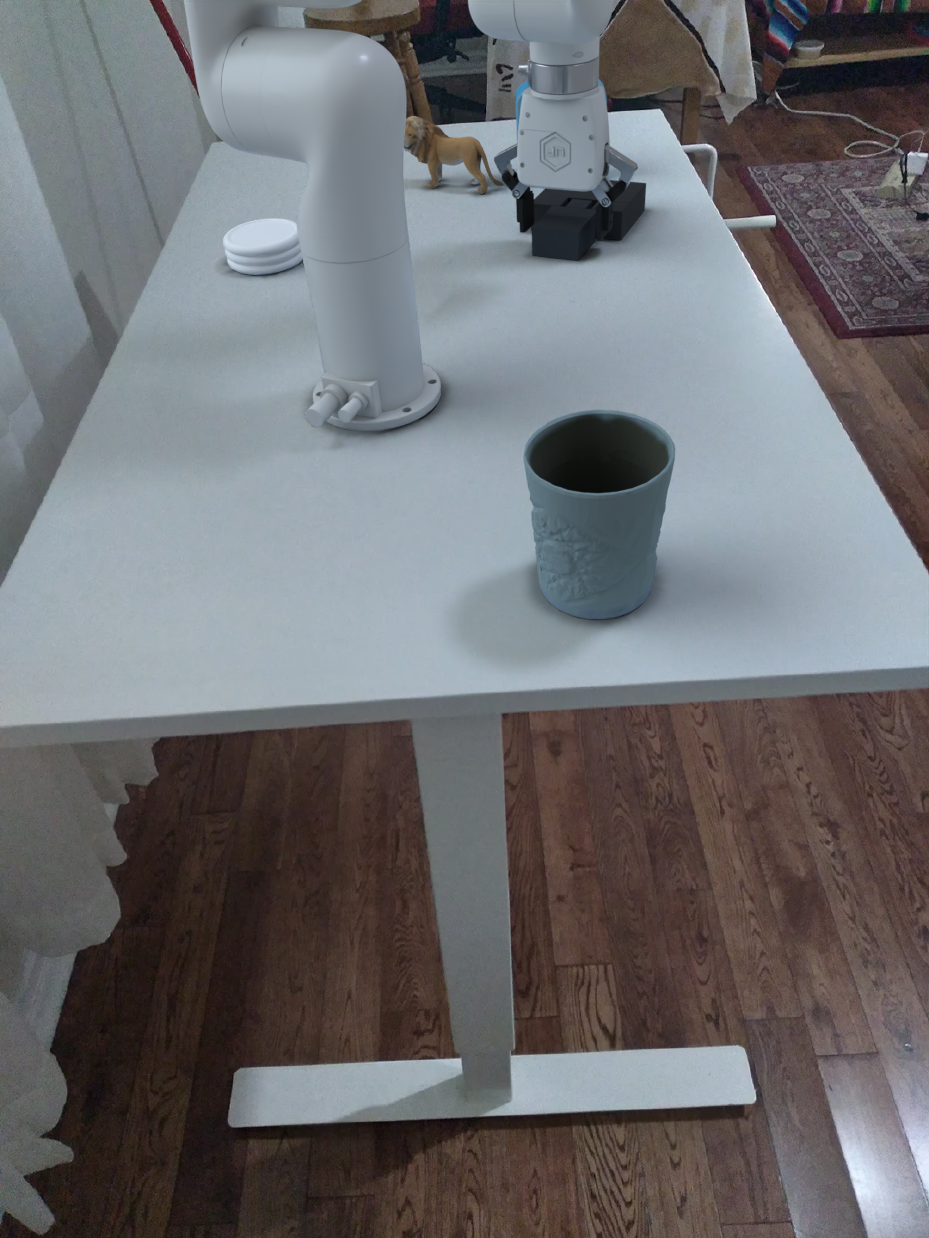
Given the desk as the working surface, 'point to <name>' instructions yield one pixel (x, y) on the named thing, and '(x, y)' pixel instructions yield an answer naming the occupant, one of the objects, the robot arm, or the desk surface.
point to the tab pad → (565, 231)
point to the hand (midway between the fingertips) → (564, 232)
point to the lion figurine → (445, 151)
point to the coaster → (263, 246)
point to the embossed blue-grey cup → (598, 509)
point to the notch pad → (624, 205)
